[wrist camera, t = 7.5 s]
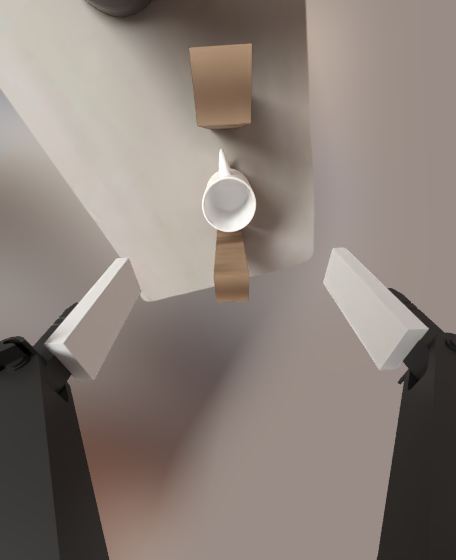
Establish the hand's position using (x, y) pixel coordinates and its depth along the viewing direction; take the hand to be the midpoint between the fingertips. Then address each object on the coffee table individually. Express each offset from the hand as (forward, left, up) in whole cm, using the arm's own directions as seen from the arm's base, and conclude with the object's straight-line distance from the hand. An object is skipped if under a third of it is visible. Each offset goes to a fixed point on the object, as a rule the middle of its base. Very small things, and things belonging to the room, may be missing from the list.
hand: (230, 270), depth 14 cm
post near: (-11, 0, -33) cm, 34 cm away
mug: (0, 0, -33) cm, 33 cm away
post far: (+11, 0, -33) cm, 34 cm away
